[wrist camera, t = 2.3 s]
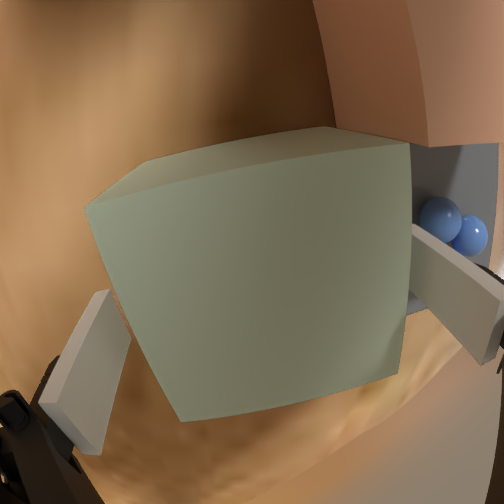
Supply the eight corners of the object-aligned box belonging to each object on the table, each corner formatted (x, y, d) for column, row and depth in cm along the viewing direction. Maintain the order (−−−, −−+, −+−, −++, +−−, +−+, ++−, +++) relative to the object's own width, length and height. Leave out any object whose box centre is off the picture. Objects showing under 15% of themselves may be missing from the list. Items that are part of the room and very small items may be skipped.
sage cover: (144, 161, 17) (84, 207, 9) (323, 126, 17) (409, 143, 9) (189, 313, 21) (181, 422, 13) (338, 281, 21) (397, 373, 13)
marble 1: (410, 194, 19) (436, 208, 16) (444, 188, 19) (472, 201, 16) (410, 236, 20) (434, 255, 17) (443, 229, 20) (468, 245, 18)
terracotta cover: (304, -30, 13) (365, -107, 5) (440, -14, 13) (531, -41, 5) (336, 127, 17) (429, 147, 9) (465, 119, 17) (565, 142, 9)
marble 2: (443, 212, 20) (469, 227, 17) (471, 206, 20) (497, 220, 17) (440, 250, 21) (464, 268, 18) (468, 242, 21) (492, 259, 18)
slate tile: (348, 149, 18) (351, 150, 17) (494, 138, 18) (498, 138, 18) (357, 326, 23) (359, 329, 23) (482, 284, 24) (484, 286, 23)
